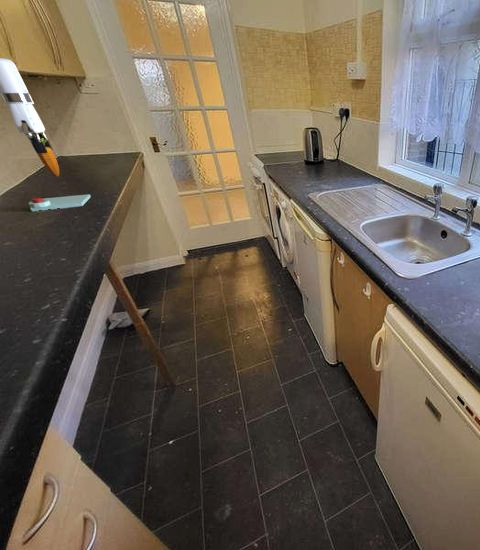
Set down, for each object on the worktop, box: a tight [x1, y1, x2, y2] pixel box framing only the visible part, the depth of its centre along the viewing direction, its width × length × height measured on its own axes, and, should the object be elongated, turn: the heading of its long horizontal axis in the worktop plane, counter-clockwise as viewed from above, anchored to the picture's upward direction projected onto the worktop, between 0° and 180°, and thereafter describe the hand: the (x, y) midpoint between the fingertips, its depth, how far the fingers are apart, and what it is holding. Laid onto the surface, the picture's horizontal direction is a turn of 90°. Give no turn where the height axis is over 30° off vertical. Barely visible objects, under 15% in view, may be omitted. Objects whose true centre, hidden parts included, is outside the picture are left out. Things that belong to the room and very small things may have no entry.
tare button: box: [31, 197, 44, 203], centre depth 119 cm, size 3×3×2 cm
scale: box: [27, 194, 92, 212], centre depth 125 cm, size 16×14×3 cm
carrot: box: [36, 138, 60, 177], centre depth 119 cm, size 5×5×15 cm
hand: (44, 151), depth 118 cm, fingers closed on carrot, 4 cm apart
